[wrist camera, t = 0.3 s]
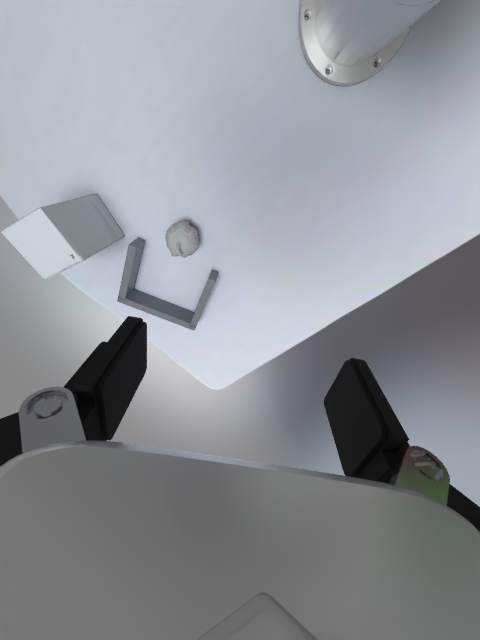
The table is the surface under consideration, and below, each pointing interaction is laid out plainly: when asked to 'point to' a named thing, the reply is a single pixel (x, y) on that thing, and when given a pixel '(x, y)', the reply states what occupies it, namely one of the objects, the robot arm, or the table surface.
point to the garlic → (182, 239)
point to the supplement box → (63, 234)
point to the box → (152, 303)
